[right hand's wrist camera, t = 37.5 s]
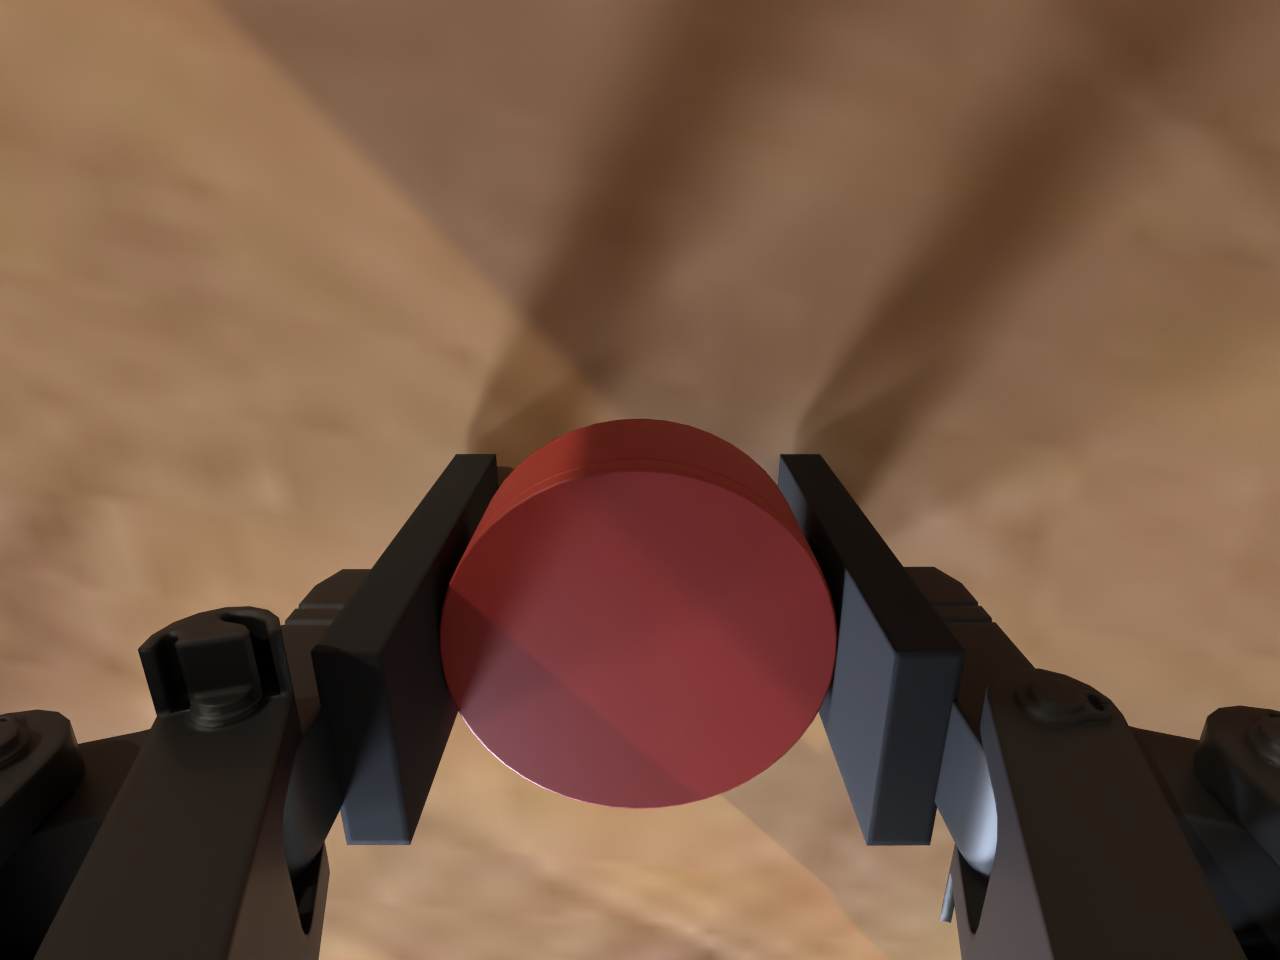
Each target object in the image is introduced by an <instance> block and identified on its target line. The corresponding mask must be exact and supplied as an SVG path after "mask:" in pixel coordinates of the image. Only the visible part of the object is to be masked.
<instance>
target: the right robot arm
mask: <svg viewBox="0 0 1280 960" xmlns="http://www.w3.org/2000/svg"><path fill="white" fill-rule="evenodd" d="M778 487H779V489H780V491H781V492H782V494H783V495H784V497H785V499H786V500H787V502H788V504H789V505H790V507H791V509H792V511H793V514H794V516H795V518H796V520H797V522H798V524H799V526H800V528H801V530H802V532H803V534H804V536H805V538H806V540H807V542H808V544H809V546H810V548H811V550H812V552H813V554H814V556H815V558H816V560H817V562H818V564H819V566H820V568H821V570H822V573H823V575H824V577H825V580H826V582H827V584H828V587H829V589H830V592H831V596H832V600H833V604H834V608H835V612H836V621H837V631H838V642H837V656H836V662H835V667H834V672H833V677H832V681H831V683H830V686H829V689H828V691H827V694H826V697H825V699H824V702H823V704H822V705H821V707H820V709H819V714H820V717H821V720H822V722H823V725H824V728H825V731H826V733H827V736H828V739H829V742H830V745H831V747H832V750H833V753H834V756H835V758H836V761H837V764H838V767H839V769H840V772H841V775H842V778H843V780H844V783H845V786H846V789H847V792H848V794H849V797H850V800H851V803H852V805H853V808H854V811H855V814H856V816H857V819H858V822H859V825H860V828H861V830H862V833H863V836H864V839H865V841H866V844H867V845H930V842H931V837H932V832H933V826H934V821H935V816H936V810H937V807H938V809H939V811H940V813H941V815H942V817H943V819H944V821H945V823H946V825H947V827H948V829H949V831H950V833H951V835H952V837H953V839H954V841H955V847H954V851H953V856H952V861H951V866H950V871H949V876H948V881H947V886H946V891H945V896H944V901H943V906H942V913H941V920H942V921H946V922H950V923H951V919H952V914H953V910H954V906H955V911H956V918H957V926H958V934H959V941H960V949H961V957H962V960H1280V712H1279V711H1275V710H1271V709H1262V708H1254V707H1246V706H1233V707H1224V708H1218V709H1217V710H1216V711H1214V712H1213V713H1212V714H1210V715H1209V716H1208V717H1207V720H1206V722H1205V725H1204V728H1203V731H1202V734H1201V737H1200V740H1195V739H1190V738H1185V737H1180V736H1174V735H1169V734H1164V733H1159V732H1154V731H1149V730H1144V729H1139V728H1135V727H1131V726H1128V724H1127V722H1126V720H1125V718H1124V716H1123V714H1122V713H1121V712H1120V711H1119V710H1118V708H1117V707H1116V706H1115V705H1114V704H1113V702H1112V701H1111V700H1110V699H1109V698H1107V697H1106V696H1104V695H1103V694H1101V693H1100V692H1098V691H1097V690H1096V689H1094V688H1093V687H1091V686H1090V685H1087V684H1085V683H1083V682H1080V681H1078V680H1076V679H1074V678H1071V677H1069V676H1067V675H1064V674H1059V673H1055V672H1051V671H1047V670H1043V669H1035V668H1034V667H1033V665H1032V664H1031V663H1030V662H1029V661H1028V660H1027V659H1026V657H1025V656H1024V655H1023V654H1022V653H1021V652H1020V650H1019V649H1018V648H1017V647H1016V646H1015V645H1014V643H1013V642H1012V641H1011V640H1010V639H1009V638H1008V637H1007V635H1006V634H1005V633H1004V632H1003V631H1002V630H1001V628H1000V627H999V626H998V625H997V624H996V623H995V622H992V618H991V617H990V616H989V614H988V613H987V612H986V611H985V610H984V609H983V608H982V606H978V602H977V601H976V599H975V598H974V597H973V596H972V595H971V594H970V592H969V591H968V590H967V589H966V588H965V587H964V586H963V584H962V583H960V582H959V581H957V580H955V579H954V578H952V577H950V576H949V575H947V574H945V573H943V572H942V571H940V570H938V569H937V568H935V567H903V566H902V565H901V563H900V562H899V560H898V559H897V558H896V556H895V555H894V554H893V552H892V551H891V550H890V548H889V547H888V546H887V544H886V543H885V542H884V540H883V539H882V538H881V536H880V535H879V533H878V532H877V531H876V529H875V528H874V527H873V525H872V524H871V523H870V521H869V520H868V519H867V517H866V516H865V515H864V513H863V512H862V511H861V509H860V508H859V506H858V505H857V504H856V502H855V501H854V500H853V498H852V497H851V496H850V494H849V493H848V492H847V490H846V489H845V488H844V486H843V485H842V484H841V482H840V481H839V479H838V478H837V477H836V475H835V474H834V473H833V471H832V470H831V469H830V467H829V466H828V465H827V463H826V462H825V461H824V459H823V458H822V457H821V455H820V454H780V467H779V480H778ZM497 490H498V478H497V464H496V454H456V455H455V457H454V458H453V459H452V461H451V462H450V463H449V465H448V466H447V467H446V469H445V470H444V472H443V473H442V474H441V476H440V477H439V478H438V480H437V481H436V482H435V484H434V485H433V486H432V488H431V489H430V490H429V492H428V493H427V495H426V496H425V497H424V499H423V500H422V501H421V503H420V504H419V505H418V507H417V508H416V509H415V511H414V512H413V513H412V515H411V516H410V518H409V519H408V520H407V522H406V523H405V524H404V526H403V527H402V528H401V530H400V531H399V532H398V534H397V535H396V536H395V538H394V539H393V541H392V542H391V543H390V545H389V546H388V547H387V549H386V550H385V551H384V553H383V554H382V555H381V557H380V558H379V560H378V561H377V562H376V564H375V565H374V566H373V568H372V569H342V570H341V571H339V572H337V573H336V574H334V575H332V576H331V577H329V578H327V579H326V580H324V581H322V582H321V583H319V584H317V585H316V586H315V587H314V588H313V589H312V590H311V591H310V592H309V594H308V595H307V596H306V597H305V598H304V599H303V601H302V602H301V603H300V604H299V609H295V610H294V611H293V612H292V613H291V615H290V616H289V617H288V618H287V619H286V621H285V625H281V626H280V621H279V618H278V617H277V616H276V615H274V614H273V613H272V612H270V611H269V610H266V609H260V608H255V607H250V606H246V607H225V608H220V609H216V610H211V611H206V612H201V613H198V614H195V615H192V616H190V617H187V618H184V619H182V620H179V621H176V622H173V623H172V624H170V625H168V626H167V627H165V628H163V629H161V630H160V631H158V632H156V633H155V634H153V635H151V636H150V637H149V638H148V639H147V640H146V641H145V643H144V644H143V645H142V646H141V647H140V648H139V649H138V652H139V655H140V659H141V662H142V665H143V669H144V672H145V676H146V679H147V683H148V686H149V690H150V693H151V697H152V700H153V704H154V707H155V711H156V714H157V717H156V719H155V721H154V723H153V725H152V727H151V729H148V730H144V731H141V732H136V733H131V734H126V735H121V736H116V737H111V738H106V739H101V740H96V741H91V742H86V743H81V744H78V743H77V740H76V737H75V734H74V731H73V728H72V726H71V723H70V720H68V719H67V718H66V717H64V716H63V715H62V714H60V713H59V712H54V711H45V710H31V711H23V712H16V713H7V714H3V715H0V960H318V959H319V951H320V943H321V936H322V928H323V920H324V913H325V905H326V897H327V890H328V882H329V874H330V871H329V864H328V856H327V851H326V847H325V842H324V841H325V839H326V837H327V835H328V833H329V831H330V829H331V827H332V825H333V823H334V821H335V819H336V817H337V815H338V813H339V811H340V810H341V816H342V821H343V826H344V832H345V837H346V842H347V845H410V844H411V841H412V838H413V835H414V833H415V830H416V827H417V824H418V821H419V819H420V816H421V813H422V810H423V807H424V805H425V802H426V799H427V796H428V794H429V791H430V788H431V785H432V782H433V780H434V777H435V774H436V771H437V769H438V766H439V763H440V760H441V757H442V755H443V752H444V749H445V746H446V744H447V741H448V738H449V735H450V732H451V730H452V727H453V724H454V721H455V718H456V716H457V713H458V709H457V707H456V705H455V703H454V701H453V699H452V697H451V695H450V691H449V688H448V685H447V682H446V679H445V676H444V673H443V667H442V662H441V656H440V642H439V627H440V620H441V612H442V606H443V602H444V599H445V596H446V592H447V589H448V586H449V583H450V581H451V579H452V577H453V575H454V572H455V570H456V568H457V566H458V564H459V562H460V560H461V558H462V556H463V554H464V552H465V550H466V548H467V546H468V544H469V542H470V540H471V539H472V537H473V535H474V533H475V531H476V529H477V527H478V525H479V523H480V521H481V519H482V517H483V515H484V513H485V511H486V509H487V507H488V505H489V503H490V501H491V499H492V498H493V496H494V495H495V493H496V492H497Z"/></svg>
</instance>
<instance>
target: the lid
mask: <svg viewBox="0 0 1280 960" xmlns="http://www.w3.org/2000/svg"><path fill="white" fill-rule="evenodd" d="M439 642H440V656H441V662H442V667H443V673H444V676H445V679H446V682H447V685H448V688H449V691H450V695H451V697H452V699H453V701H454V703H455V705H456V707H457V709H458V711H459V713H460V715H461V716H462V718H463V719H464V721H465V722H466V724H467V725H468V726H469V728H470V729H471V731H472V732H473V734H474V735H475V736H476V737H477V738H478V739H479V740H480V741H481V743H482V744H483V745H484V746H485V747H486V748H487V749H488V750H489V751H490V752H491V753H492V754H493V755H494V756H496V757H497V758H498V759H499V760H500V761H501V762H502V763H504V764H505V765H506V766H508V767H509V768H511V769H512V770H513V771H515V772H516V773H518V774H519V775H521V776H522V777H524V778H526V779H527V780H529V781H531V782H533V783H535V784H537V785H539V786H541V787H543V788H545V789H547V790H550V791H552V792H555V793H557V794H560V795H562V796H565V797H568V798H571V799H575V800H579V801H582V802H586V803H590V804H596V805H602V806H608V807H617V808H632V809H642V808H662V807H669V806H676V805H683V804H687V803H691V802H695V801H699V800H703V799H707V798H709V797H712V796H715V795H718V794H721V793H723V792H726V791H728V790H730V789H733V788H735V787H737V786H739V785H741V784H743V783H745V782H747V781H749V780H750V779H752V778H753V777H755V776H757V775H758V774H760V773H761V772H763V771H764V770H766V769H767V768H769V767H770V766H771V765H772V764H774V763H775V762H776V761H777V760H778V759H780V758H781V757H782V756H783V755H785V754H786V753H787V751H788V750H789V749H790V748H791V747H792V746H793V745H794V744H795V743H796V742H797V741H798V740H799V739H800V738H801V736H802V735H803V734H804V732H805V731H806V730H807V728H808V727H809V726H810V724H811V723H812V722H813V720H814V718H815V716H816V715H817V713H818V711H819V709H820V707H821V705H822V704H823V702H824V699H825V697H826V694H827V691H828V689H829V686H830V683H831V681H832V677H833V672H834V667H835V662H836V656H837V642H838V631H837V621H836V612H835V608H834V604H833V600H832V596H831V592H830V589H829V587H828V584H827V582H826V580H825V577H824V575H823V573H822V570H821V568H820V566H819V564H818V562H817V560H816V558H815V556H814V554H813V552H812V550H811V548H810V546H809V544H808V542H807V540H806V538H805V536H804V534H803V532H802V530H801V528H800V526H799V524H798V522H797V520H796V518H795V516H794V514H793V511H792V509H791V507H790V505H789V504H788V502H787V500H786V499H785V497H784V495H783V494H782V492H781V491H780V489H779V487H778V486H777V485H776V484H775V482H774V481H773V480H772V479H771V478H770V476H769V475H768V474H767V473H766V472H765V470H764V469H762V468H761V467H760V466H759V465H758V464H757V463H756V462H755V461H754V460H753V459H751V458H750V457H749V456H748V455H747V454H745V453H744V452H742V451H741V450H739V449H738V448H736V447H735V446H733V445H732V444H730V443H729V442H727V441H725V440H723V439H721V438H719V437H717V436H715V435H713V434H711V433H708V432H705V431H703V430H700V429H697V428H694V427H691V426H688V425H684V424H679V423H674V422H669V421H663V420H651V419H626V420H615V421H609V422H603V423H597V424H593V425H590V426H587V427H584V428H581V429H577V430H574V431H572V432H570V433H567V434H565V435H563V436H561V437H559V438H556V439H554V440H552V441H551V442H549V443H548V444H546V445H544V446H543V447H541V448H540V449H538V450H536V451H535V452H534V453H532V454H531V455H530V456H529V457H528V458H526V459H525V460H524V461H523V462H522V463H520V464H519V465H518V466H517V467H516V468H515V469H514V470H513V471H512V473H511V474H510V475H509V476H508V477H507V478H506V479H505V480H504V481H503V483H502V484H501V486H500V487H499V489H498V490H497V492H496V493H495V495H494V496H493V498H492V499H491V501H490V503H489V505H488V507H487V509H486V511H485V513H484V515H483V517H482V519H481V521H480V523H479V525H478V527H477V529H476V531H475V533H474V535H473V537H472V539H471V540H470V542H469V544H468V546H467V548H466V550H465V552H464V554H463V556H462V558H461V560H460V562H459V564H458V566H457V568H456V570H455V572H454V575H453V577H452V579H451V581H450V583H449V586H448V589H447V592H446V596H445V599H444V602H443V606H442V612H441V620H440V627H439Z"/></svg>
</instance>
